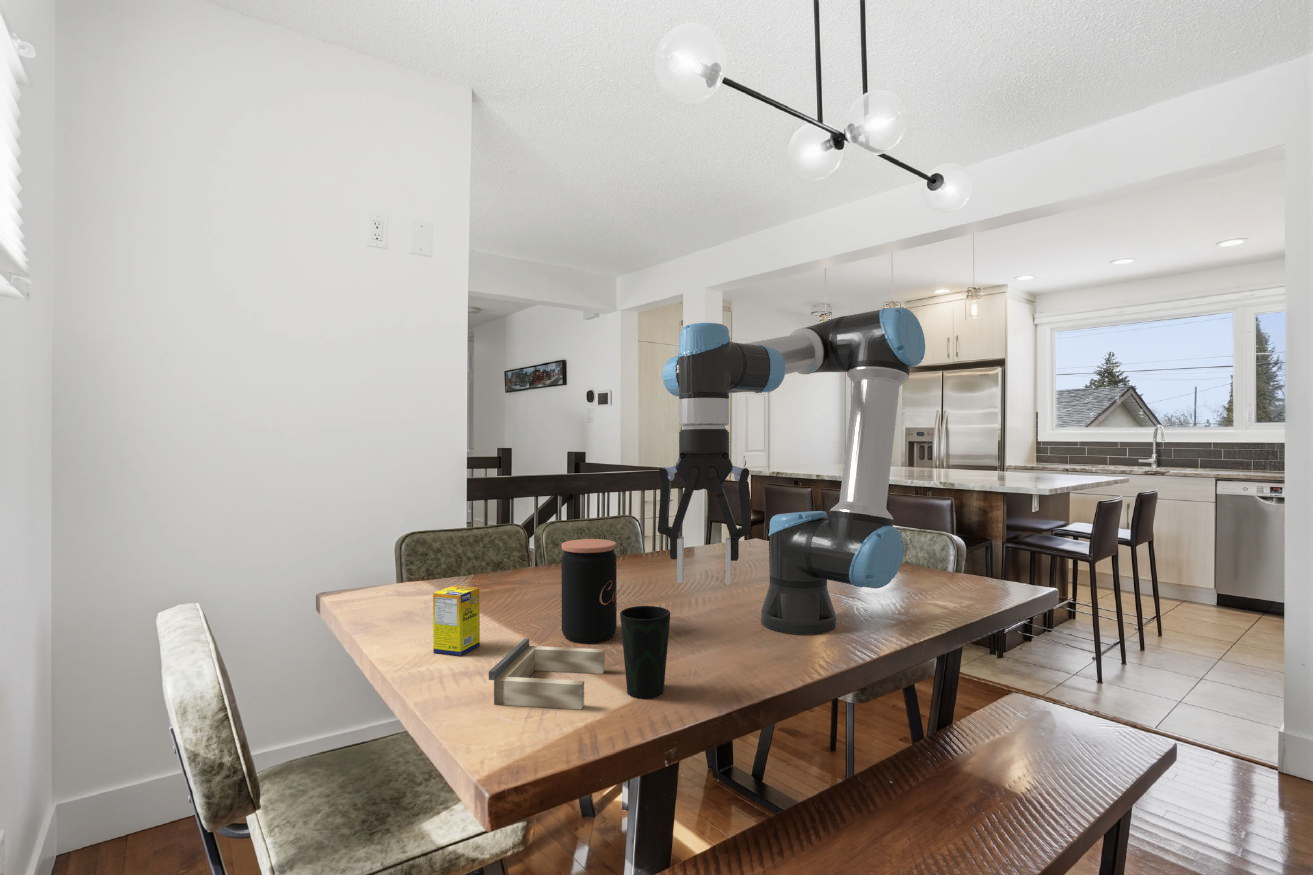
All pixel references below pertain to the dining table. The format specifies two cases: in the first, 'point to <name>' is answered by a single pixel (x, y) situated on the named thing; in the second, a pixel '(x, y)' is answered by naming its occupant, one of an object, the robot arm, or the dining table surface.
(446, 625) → the supplement box
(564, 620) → the coffee jar
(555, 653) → the bay
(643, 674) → the cup
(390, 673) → the dining table surface
